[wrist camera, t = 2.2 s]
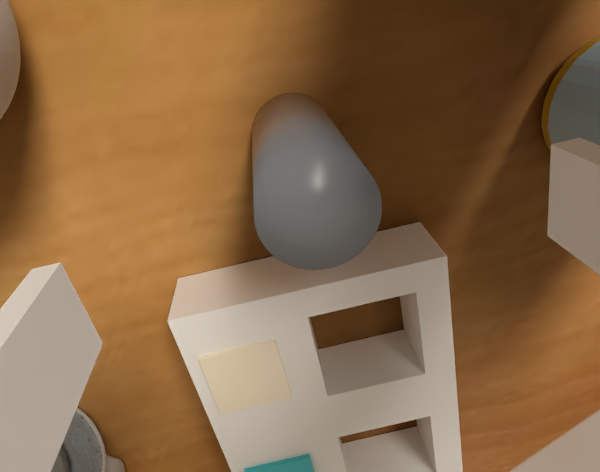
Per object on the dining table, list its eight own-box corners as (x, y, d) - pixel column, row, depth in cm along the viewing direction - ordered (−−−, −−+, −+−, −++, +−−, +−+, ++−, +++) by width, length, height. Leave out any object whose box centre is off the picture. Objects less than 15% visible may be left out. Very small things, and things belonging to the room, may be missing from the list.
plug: (323, 84, 22) (373, 137, 13) (337, 162, 24) (389, 254, 15) (242, 103, 22) (238, 168, 14) (262, 180, 24) (270, 282, 15)
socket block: (420, 221, 26) (449, 258, 22) (441, 436, 34) (465, 490, 31) (178, 278, 26) (166, 324, 22) (257, 479, 34) (258, 538, 31)
